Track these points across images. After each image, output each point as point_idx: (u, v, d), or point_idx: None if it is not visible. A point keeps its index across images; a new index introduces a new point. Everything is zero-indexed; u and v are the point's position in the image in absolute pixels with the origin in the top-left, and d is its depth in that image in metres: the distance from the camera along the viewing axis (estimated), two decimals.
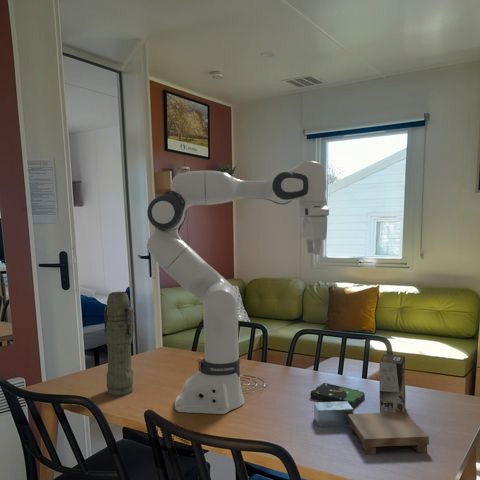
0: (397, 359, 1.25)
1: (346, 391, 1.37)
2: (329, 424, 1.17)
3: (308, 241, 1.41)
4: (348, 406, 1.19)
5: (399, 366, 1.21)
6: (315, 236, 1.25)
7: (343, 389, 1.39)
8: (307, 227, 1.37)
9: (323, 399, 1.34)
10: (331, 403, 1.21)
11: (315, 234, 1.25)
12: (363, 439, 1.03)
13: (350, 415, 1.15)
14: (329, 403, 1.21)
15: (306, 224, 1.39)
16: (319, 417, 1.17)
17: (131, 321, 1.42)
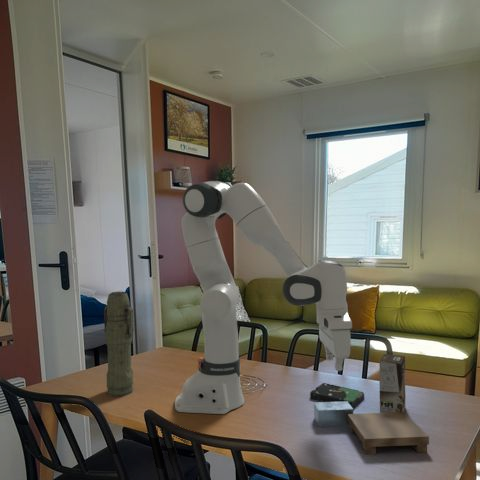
0: (397, 359, 1.25)
1: (346, 391, 1.37)
2: (329, 424, 1.17)
3: None
4: (348, 406, 1.19)
5: (399, 366, 1.21)
6: (337, 355, 1.09)
7: (343, 389, 1.39)
8: (326, 333, 1.21)
9: (323, 399, 1.34)
10: (331, 403, 1.21)
11: (337, 352, 1.09)
12: (363, 439, 1.03)
13: (350, 415, 1.15)
14: (329, 403, 1.21)
15: None
16: (319, 417, 1.17)
17: (131, 321, 1.42)
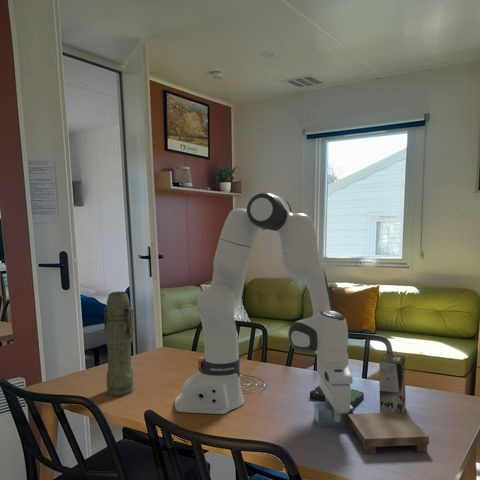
0: (397, 359, 1.25)
1: None
2: (329, 423, 1.17)
3: None
4: None
5: (399, 366, 1.21)
6: (337, 410, 1.09)
7: None
8: (326, 383, 1.21)
9: (322, 399, 1.34)
10: None
11: (337, 408, 1.09)
12: (363, 439, 1.03)
13: (350, 415, 1.15)
14: (329, 402, 1.21)
15: None
16: (319, 416, 1.16)
17: (131, 321, 1.42)
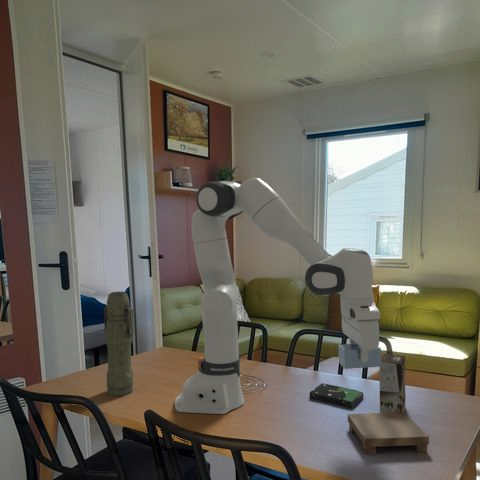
0: (397, 359, 1.25)
1: (345, 391, 1.37)
2: (355, 365, 1.11)
3: (352, 339, 1.17)
4: None
5: (399, 366, 1.21)
6: (365, 346, 1.04)
7: (342, 389, 1.39)
8: (350, 325, 1.15)
9: (322, 399, 1.34)
10: (356, 344, 1.15)
11: (365, 344, 1.03)
12: (363, 439, 1.03)
13: (350, 415, 1.15)
14: (354, 344, 1.15)
15: None
16: (345, 357, 1.11)
17: (131, 321, 1.42)
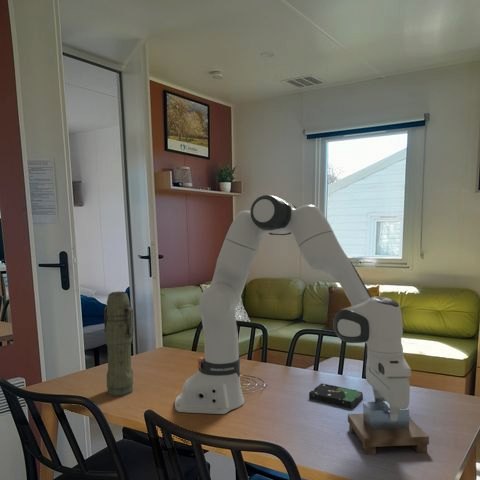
0: None
1: (345, 391, 1.37)
2: (382, 426, 1.06)
3: (376, 389, 1.14)
4: None
5: None
6: (395, 406, 0.99)
7: (341, 389, 1.39)
8: (377, 377, 1.10)
9: (322, 400, 1.34)
10: (382, 403, 1.10)
11: (395, 403, 0.99)
12: (363, 439, 1.03)
13: (350, 415, 1.15)
14: (380, 403, 1.10)
15: None
16: (371, 418, 1.06)
17: (131, 321, 1.42)
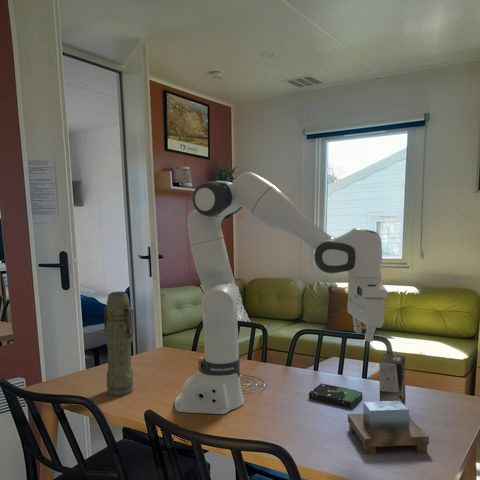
0: (397, 359, 1.25)
1: (344, 391, 1.37)
2: (382, 426, 1.06)
3: (355, 318, 1.20)
4: (402, 406, 1.08)
5: (399, 366, 1.21)
6: (370, 323, 1.05)
7: (341, 389, 1.39)
8: (356, 304, 1.17)
9: (322, 400, 1.34)
10: (382, 403, 1.10)
11: (370, 321, 1.05)
12: (363, 439, 1.03)
13: (350, 415, 1.15)
14: (380, 403, 1.10)
15: (355, 299, 1.18)
16: (371, 418, 1.06)
17: (131, 321, 1.42)
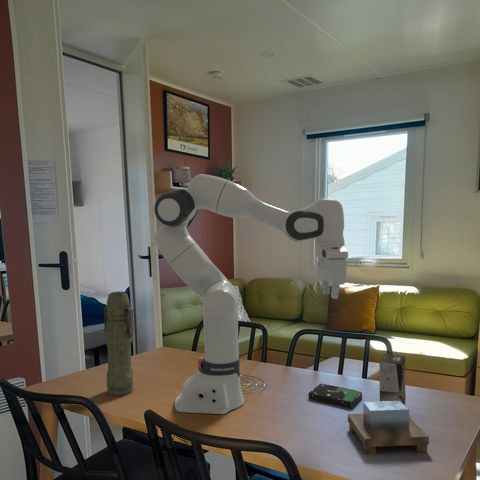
0: (397, 359, 1.25)
1: (344, 391, 1.37)
2: (382, 426, 1.06)
3: (324, 281, 1.33)
4: (402, 406, 1.08)
5: (399, 366, 1.21)
6: (334, 281, 1.18)
7: (340, 389, 1.39)
8: (323, 267, 1.29)
9: (321, 400, 1.34)
10: (382, 403, 1.10)
11: (334, 279, 1.18)
12: (363, 439, 1.03)
13: (350, 415, 1.15)
14: (380, 403, 1.10)
15: (322, 264, 1.31)
16: (371, 418, 1.06)
17: (131, 321, 1.42)
